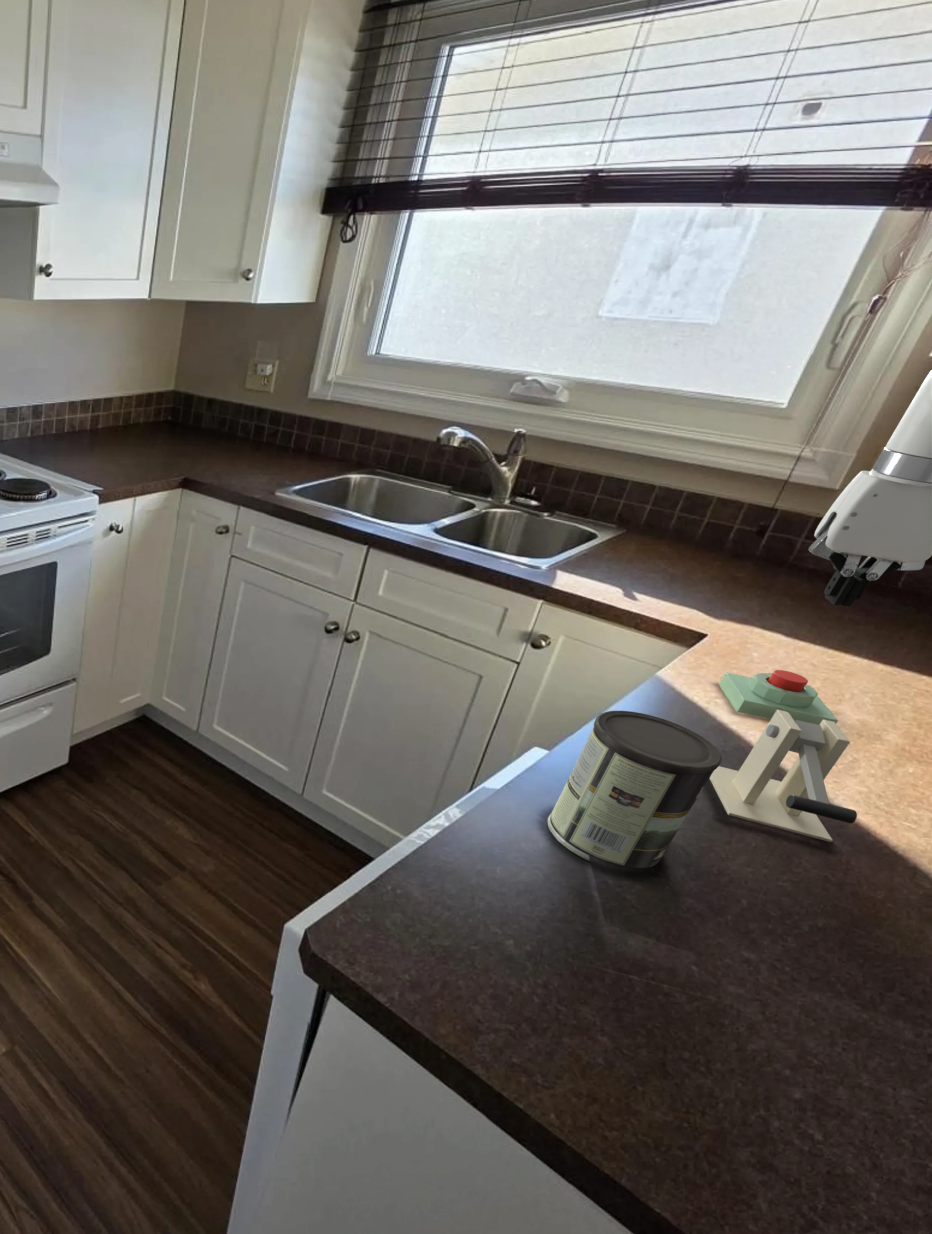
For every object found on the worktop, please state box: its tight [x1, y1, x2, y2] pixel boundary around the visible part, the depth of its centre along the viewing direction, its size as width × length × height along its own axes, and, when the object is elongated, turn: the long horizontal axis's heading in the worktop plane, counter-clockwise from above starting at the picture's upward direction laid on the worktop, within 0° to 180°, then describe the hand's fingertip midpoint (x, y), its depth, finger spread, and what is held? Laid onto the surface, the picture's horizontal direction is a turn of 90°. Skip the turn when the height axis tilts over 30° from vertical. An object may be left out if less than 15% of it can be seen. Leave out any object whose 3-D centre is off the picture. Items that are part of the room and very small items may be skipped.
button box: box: [718, 672, 839, 725], centre depth 111 cm, size 10×9×4 cm
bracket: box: [709, 710, 851, 843], centre depth 89 cm, size 11×9×12 cm
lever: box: [786, 720, 858, 824], centre depth 85 cm, size 12×5×2 cm, turn 151°
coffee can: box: [547, 710, 723, 869], centre depth 83 cm, size 10×10×14 cm
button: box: [768, 669, 809, 692], centre depth 110 cm, size 4×4×2 cm
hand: (836, 602), depth 104 cm, fingers closed
